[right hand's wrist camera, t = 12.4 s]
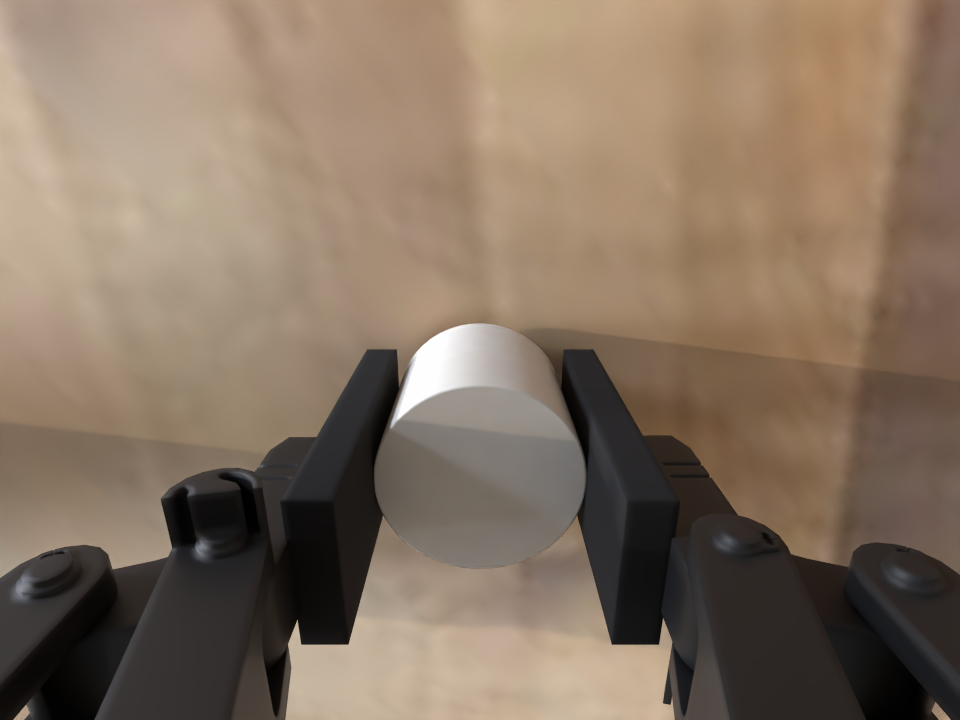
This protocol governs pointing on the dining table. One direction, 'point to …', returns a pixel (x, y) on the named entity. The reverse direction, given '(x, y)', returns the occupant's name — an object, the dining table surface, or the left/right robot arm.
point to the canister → (480, 451)
